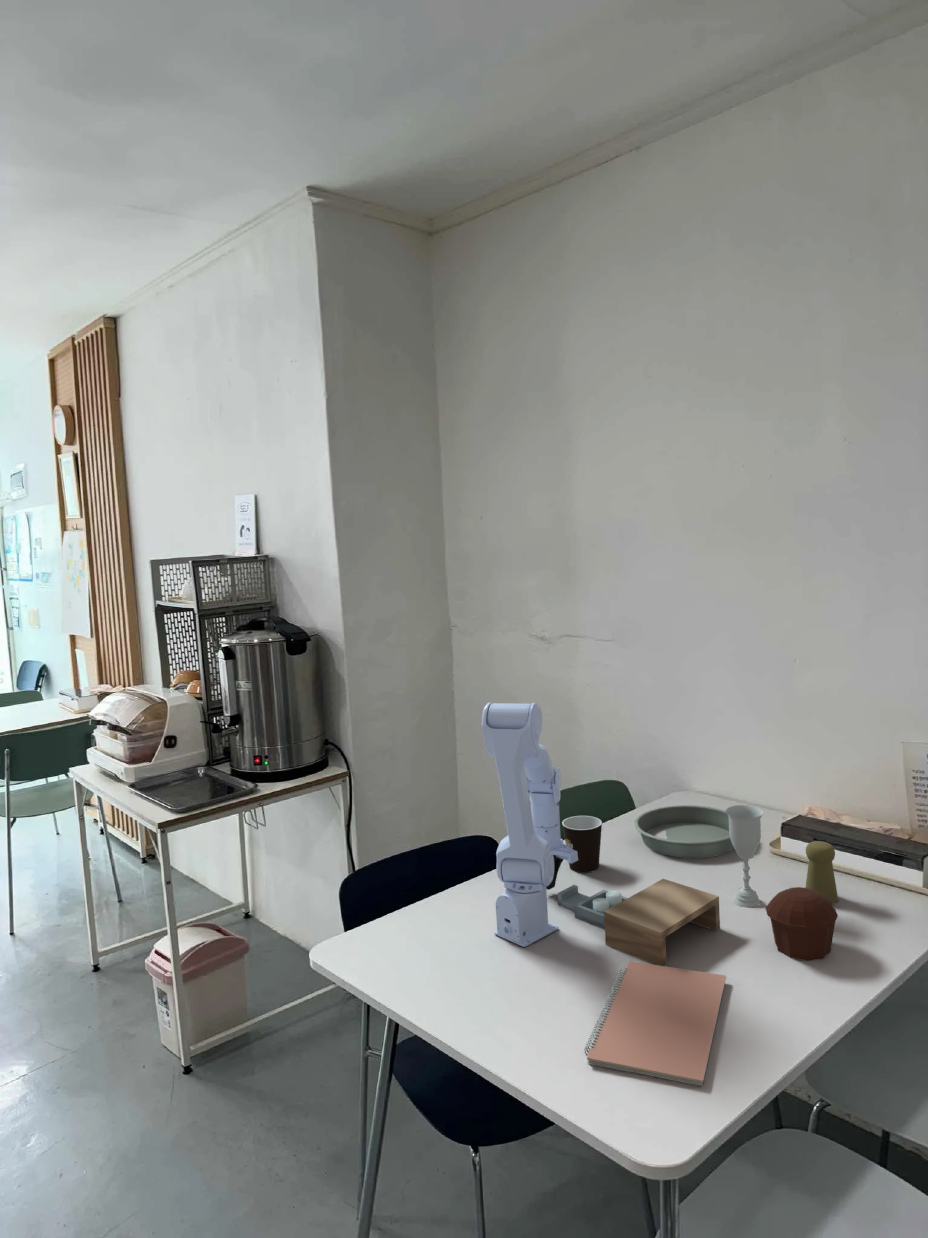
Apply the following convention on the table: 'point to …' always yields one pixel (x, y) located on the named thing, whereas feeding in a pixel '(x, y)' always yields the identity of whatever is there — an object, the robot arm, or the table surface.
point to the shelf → (658, 918)
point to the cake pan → (686, 831)
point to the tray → (589, 904)
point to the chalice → (745, 846)
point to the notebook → (658, 1022)
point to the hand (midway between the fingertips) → (549, 887)
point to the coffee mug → (583, 841)
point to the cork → (821, 870)
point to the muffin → (802, 923)
